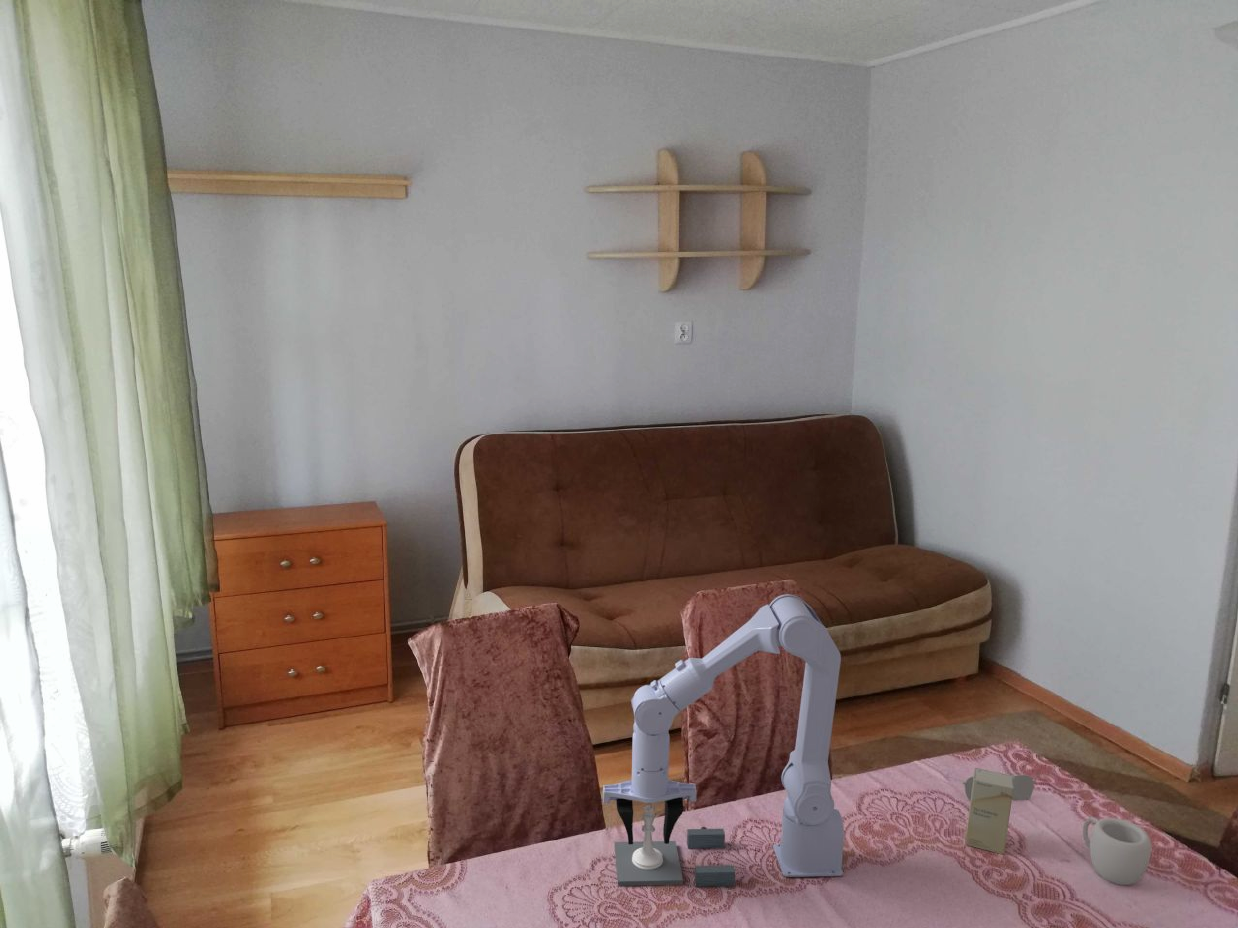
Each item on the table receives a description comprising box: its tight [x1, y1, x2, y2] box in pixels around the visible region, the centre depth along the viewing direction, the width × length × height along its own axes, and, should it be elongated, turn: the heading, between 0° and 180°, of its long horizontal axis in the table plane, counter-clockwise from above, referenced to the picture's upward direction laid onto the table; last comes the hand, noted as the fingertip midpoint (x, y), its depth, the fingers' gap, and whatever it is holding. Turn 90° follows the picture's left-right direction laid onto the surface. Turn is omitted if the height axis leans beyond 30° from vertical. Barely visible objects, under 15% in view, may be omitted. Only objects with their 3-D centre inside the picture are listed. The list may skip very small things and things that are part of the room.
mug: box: [1082, 816, 1152, 886], centre depth 151 cm, size 12×8×8 cm
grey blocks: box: [686, 826, 736, 888], centre depth 152 cm, size 6×13×2 cm, turn 3°
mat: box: [614, 840, 684, 887], centre depth 151 cm, size 10×10×1 cm
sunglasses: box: [946, 770, 1037, 801], centre depth 175 cm, size 14×8×5 cm, turn 94°
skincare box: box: [965, 767, 1015, 855], centre depth 157 cm, size 6×4×12 cm
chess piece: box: [632, 803, 663, 870], centre depth 150 cm, size 5×5×10 cm
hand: (648, 840), depth 150 cm, fingers open, 5 cm apart
